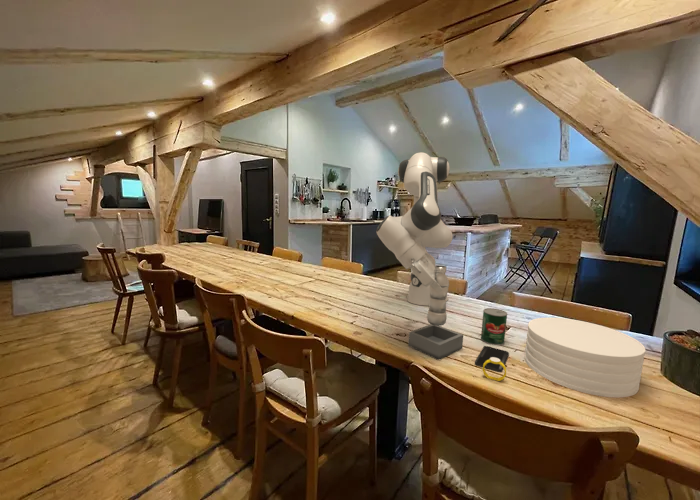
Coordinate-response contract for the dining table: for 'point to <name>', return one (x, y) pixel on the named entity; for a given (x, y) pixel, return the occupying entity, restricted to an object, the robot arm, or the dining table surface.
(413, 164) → the robot arm
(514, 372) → the dining table surface
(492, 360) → the watch
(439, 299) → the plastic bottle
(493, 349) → the phone
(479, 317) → the dining table surface
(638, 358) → the plate stack
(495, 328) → the canned tomato
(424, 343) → the tray
